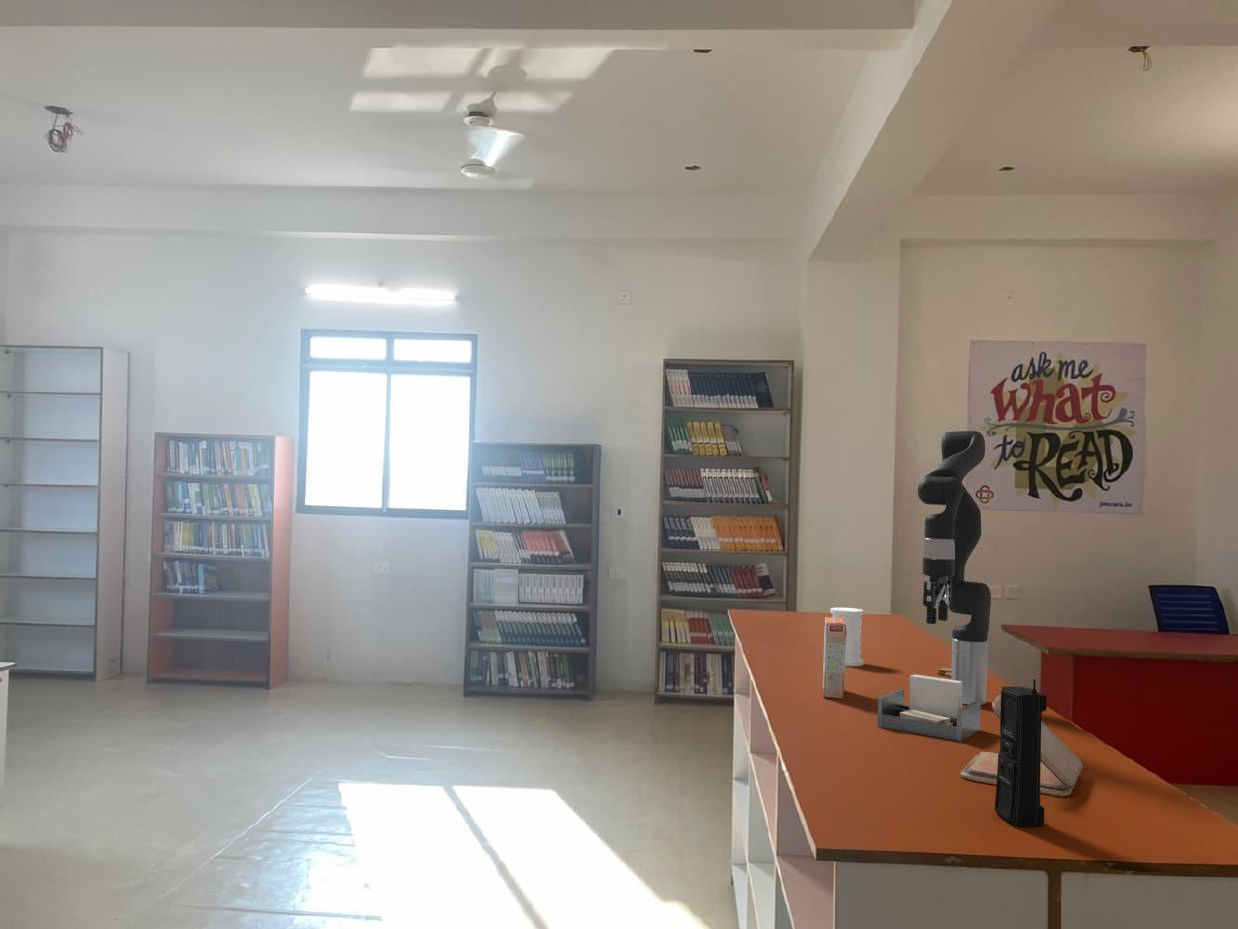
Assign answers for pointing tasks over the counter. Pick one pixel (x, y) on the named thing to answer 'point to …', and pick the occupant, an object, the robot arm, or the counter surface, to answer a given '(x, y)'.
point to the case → (1055, 767)
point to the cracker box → (834, 657)
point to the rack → (959, 731)
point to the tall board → (935, 695)
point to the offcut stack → (926, 717)
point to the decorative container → (851, 633)
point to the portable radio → (1020, 756)
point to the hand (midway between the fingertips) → (937, 622)
